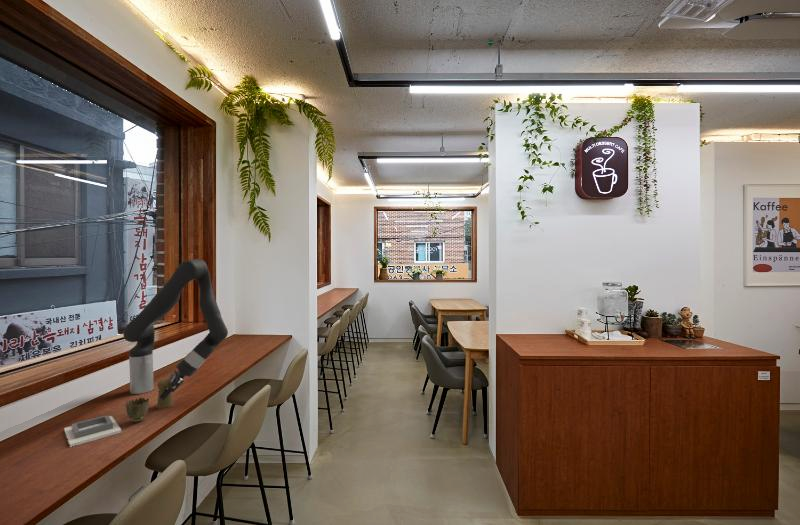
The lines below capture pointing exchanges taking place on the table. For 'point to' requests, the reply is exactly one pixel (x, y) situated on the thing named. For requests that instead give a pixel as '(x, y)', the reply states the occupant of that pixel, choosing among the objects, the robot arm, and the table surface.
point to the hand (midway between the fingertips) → (160, 395)
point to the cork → (168, 400)
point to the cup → (137, 409)
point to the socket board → (91, 430)
